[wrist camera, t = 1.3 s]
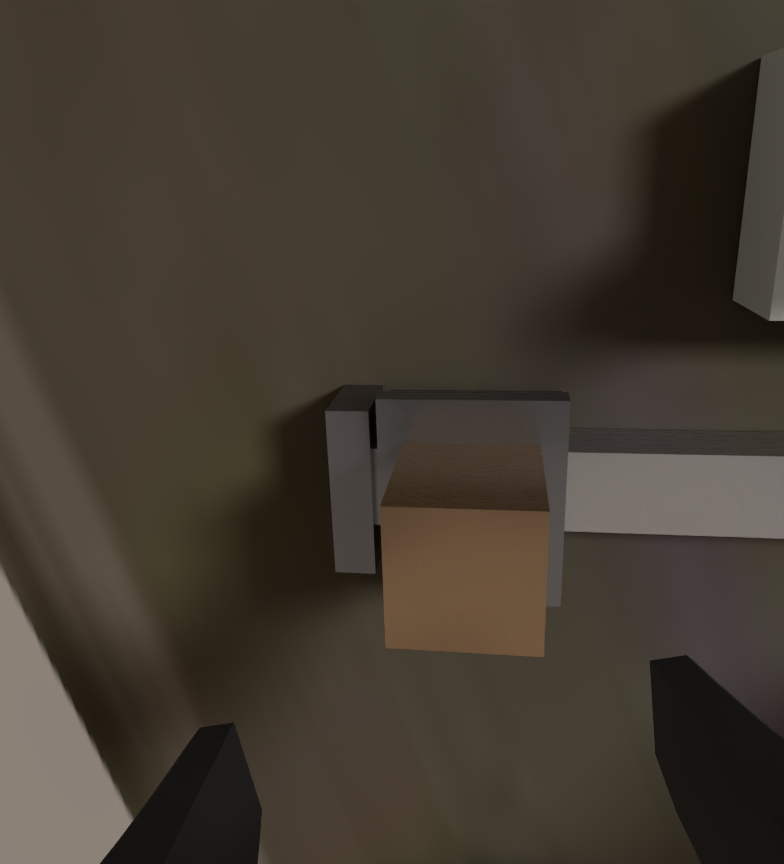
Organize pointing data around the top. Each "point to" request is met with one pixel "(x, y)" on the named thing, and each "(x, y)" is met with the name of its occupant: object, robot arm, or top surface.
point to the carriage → (471, 517)
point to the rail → (584, 481)
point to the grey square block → (764, 200)
